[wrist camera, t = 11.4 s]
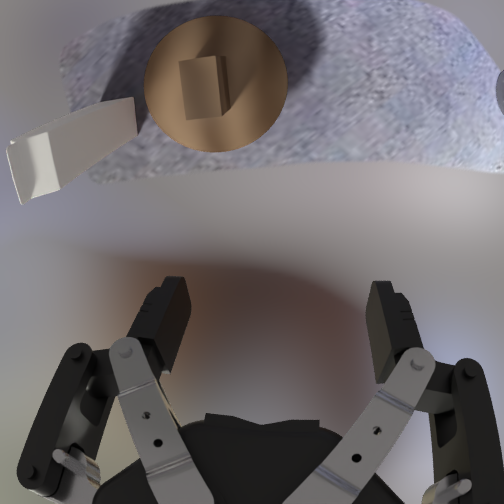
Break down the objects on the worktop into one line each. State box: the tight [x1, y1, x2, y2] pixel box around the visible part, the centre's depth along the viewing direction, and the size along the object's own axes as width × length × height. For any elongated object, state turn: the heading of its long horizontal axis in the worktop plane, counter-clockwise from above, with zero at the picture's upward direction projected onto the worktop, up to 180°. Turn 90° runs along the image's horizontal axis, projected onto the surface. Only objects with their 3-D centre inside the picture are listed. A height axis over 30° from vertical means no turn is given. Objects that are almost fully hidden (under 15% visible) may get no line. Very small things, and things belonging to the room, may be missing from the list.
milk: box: [6, 97, 138, 205], centre depth 30 cm, size 6×6×22 cm
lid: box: [144, 16, 288, 152], centre depth 28 cm, size 16×16×6 cm
